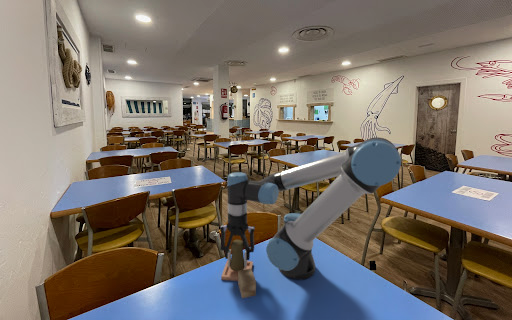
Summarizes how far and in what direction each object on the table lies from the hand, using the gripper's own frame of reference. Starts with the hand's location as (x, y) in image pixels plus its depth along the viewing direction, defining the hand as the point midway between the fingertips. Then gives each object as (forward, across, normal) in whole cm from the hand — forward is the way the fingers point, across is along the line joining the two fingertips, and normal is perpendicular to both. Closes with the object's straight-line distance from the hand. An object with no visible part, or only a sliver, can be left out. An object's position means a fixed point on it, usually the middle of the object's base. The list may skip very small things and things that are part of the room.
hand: (237, 265), depth 98 cm
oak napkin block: (+3, -5, +10) cm, 12 cm away
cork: (0, 0, 0) cm, 0 cm away
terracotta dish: (+2, 0, 0) cm, 2 cm away
